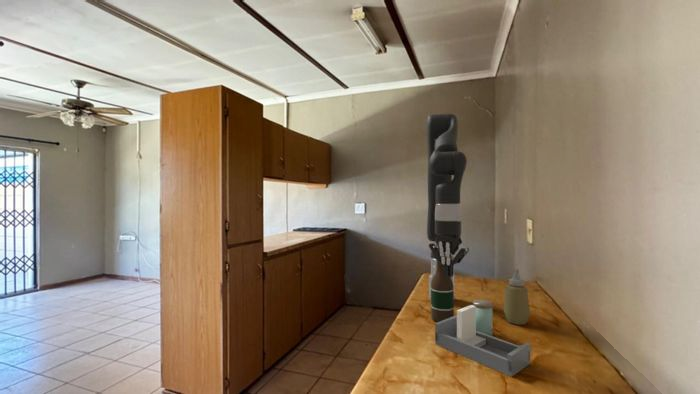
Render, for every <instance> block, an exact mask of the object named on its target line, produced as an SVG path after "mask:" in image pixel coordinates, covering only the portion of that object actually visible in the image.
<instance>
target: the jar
mask: <svg viewBox="0 0 700 394" xmlns="http://www.w3.org/2000/svg"><path fill="white" fill-rule="evenodd" d="M472 305H473V306H476V331H478V332H481V333H484V334H487V335H490V336H493V334H494V333H493V331H494V330H493V322H494V321H493V307H494V302H492V301H491V300H488V299H484V298H476V299H473V300H472ZM493 337H494V336H493Z"/></svg>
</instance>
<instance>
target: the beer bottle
mask: <svg viewBox="0 0 700 394" xmlns="http://www.w3.org/2000/svg"><path fill="white" fill-rule="evenodd" d="M454 305H455V286H454V287H453V282H452V279H451V278H447V277H444V275H443V264H442V263H441V262H440V261H437V266H436V274H435V275H434V276H433V278H432V281H431V299H430V318H431V320H432V321H433V322H434V323H438V322H440V321H443V320H445V319H448V318H450V317H453V316H455V306H454Z"/></svg>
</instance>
